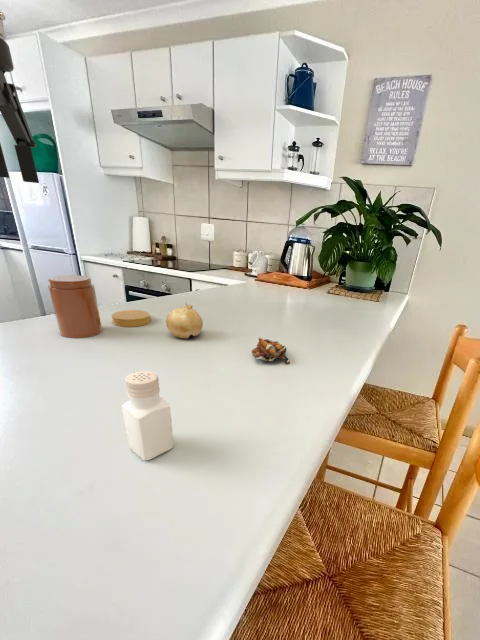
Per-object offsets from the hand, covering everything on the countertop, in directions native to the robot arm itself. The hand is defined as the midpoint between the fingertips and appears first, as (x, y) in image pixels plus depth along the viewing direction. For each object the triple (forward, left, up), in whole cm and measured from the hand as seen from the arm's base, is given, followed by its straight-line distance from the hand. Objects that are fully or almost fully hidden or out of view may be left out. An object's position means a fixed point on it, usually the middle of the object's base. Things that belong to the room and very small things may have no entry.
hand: (17, 180), depth 65 cm
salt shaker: (+54, +28, -29) cm, 67 cm away
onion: (+13, +31, -29) cm, 44 cm away
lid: (+2, +18, -27) cm, 33 cm away
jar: (+10, +9, -29) cm, 31 cm away
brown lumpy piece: (+25, +48, -29) cm, 61 cm away
